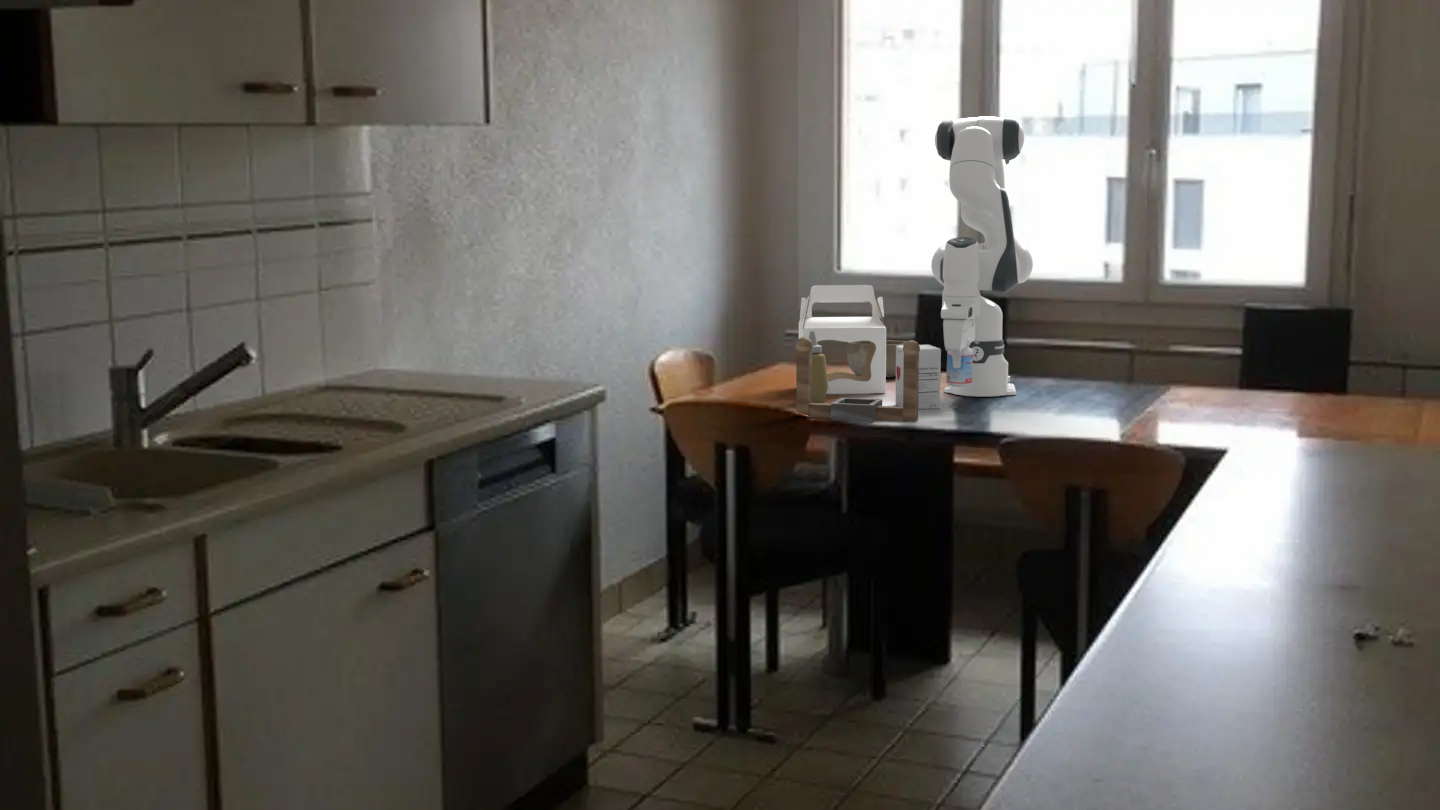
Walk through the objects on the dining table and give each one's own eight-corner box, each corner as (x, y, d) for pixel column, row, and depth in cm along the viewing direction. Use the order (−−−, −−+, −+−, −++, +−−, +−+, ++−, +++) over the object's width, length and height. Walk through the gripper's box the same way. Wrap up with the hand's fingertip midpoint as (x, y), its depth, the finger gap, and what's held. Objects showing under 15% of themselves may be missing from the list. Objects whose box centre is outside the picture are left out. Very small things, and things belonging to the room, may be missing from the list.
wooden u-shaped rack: (801, 412, 413) (801, 334, 411) (923, 417, 404) (924, 338, 401) (790, 418, 404) (790, 339, 401) (914, 424, 395) (915, 342, 392)
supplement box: (894, 404, 425) (894, 345, 423) (928, 403, 427) (929, 344, 425) (906, 410, 416) (906, 349, 414) (940, 408, 418) (941, 348, 416)
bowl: (877, 371, 489) (877, 336, 487) (922, 377, 475) (922, 341, 473) (833, 376, 478) (833, 341, 476) (878, 382, 464) (878, 346, 463)
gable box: (880, 386, 457) (880, 282, 453) (886, 393, 444) (887, 286, 440) (797, 387, 456) (797, 283, 452) (801, 394, 443) (801, 287, 439)
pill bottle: (971, 387, 401) (972, 340, 398) (945, 386, 402) (946, 339, 400) (972, 383, 406) (974, 336, 404) (947, 382, 408) (948, 336, 405)
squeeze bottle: (831, 400, 433) (832, 330, 430) (823, 404, 425) (823, 333, 422) (801, 399, 435) (801, 329, 432) (792, 403, 428) (792, 332, 425)
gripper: (955, 301, 411) (954, 358, 414) (939, 312, 392) (938, 371, 395) (981, 302, 409) (980, 359, 412) (966, 312, 390) (965, 372, 393)
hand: (959, 365), depth 403 cm, fingers closed on pill bottle, 6 cm apart
